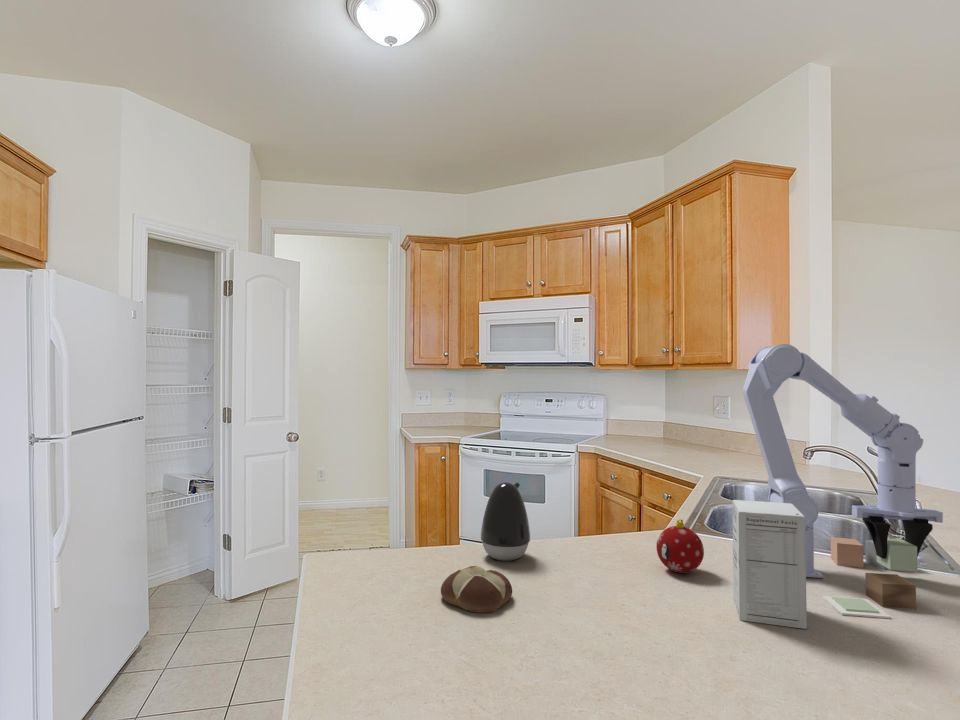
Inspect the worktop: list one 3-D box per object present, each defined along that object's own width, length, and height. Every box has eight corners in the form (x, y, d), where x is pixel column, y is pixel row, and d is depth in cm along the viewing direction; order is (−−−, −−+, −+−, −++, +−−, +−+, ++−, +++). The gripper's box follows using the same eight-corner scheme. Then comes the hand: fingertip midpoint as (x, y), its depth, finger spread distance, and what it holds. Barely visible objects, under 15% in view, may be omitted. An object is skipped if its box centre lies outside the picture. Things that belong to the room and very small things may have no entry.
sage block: (890, 569, 101) (890, 545, 101) (876, 561, 105) (876, 538, 105) (917, 571, 100) (917, 546, 100) (902, 563, 104) (902, 539, 104)
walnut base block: (882, 608, 89) (882, 583, 90) (865, 595, 94) (865, 572, 94) (916, 610, 89) (915, 585, 89) (897, 598, 94) (897, 574, 94)
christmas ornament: (714, 575, 103) (714, 522, 103) (680, 582, 99) (680, 527, 99) (679, 561, 110) (679, 512, 111) (646, 567, 107) (647, 516, 107)
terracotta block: (837, 565, 110) (837, 543, 110) (830, 558, 114) (830, 537, 114) (863, 568, 108) (863, 545, 108) (856, 561, 112) (855, 539, 113)
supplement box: (795, 606, 89) (794, 502, 90) (809, 630, 80) (808, 516, 81) (731, 598, 92) (731, 498, 93) (737, 620, 84) (737, 510, 84)
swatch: (841, 615, 86) (841, 611, 86) (821, 597, 93) (821, 593, 93) (890, 618, 85) (890, 614, 85) (866, 600, 92) (866, 597, 92)
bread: (480, 621, 83) (480, 587, 83) (429, 599, 90) (430, 569, 91) (525, 599, 91) (525, 569, 91) (475, 581, 99) (476, 554, 99)
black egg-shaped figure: (538, 554, 114) (539, 481, 114) (515, 568, 105) (515, 489, 105) (497, 545, 119) (497, 476, 120) (470, 558, 110) (471, 483, 111)
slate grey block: (883, 569, 107) (883, 546, 108) (865, 562, 112) (865, 540, 112) (904, 569, 108) (904, 546, 108) (885, 561, 112) (885, 539, 113)
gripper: (865, 487, 100) (865, 561, 100) (954, 491, 98) (954, 568, 97) (846, 480, 107) (846, 550, 107) (928, 484, 105) (928, 555, 104)
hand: (896, 557), depth 103 cm, fingers closed on sage block, 4 cm apart
